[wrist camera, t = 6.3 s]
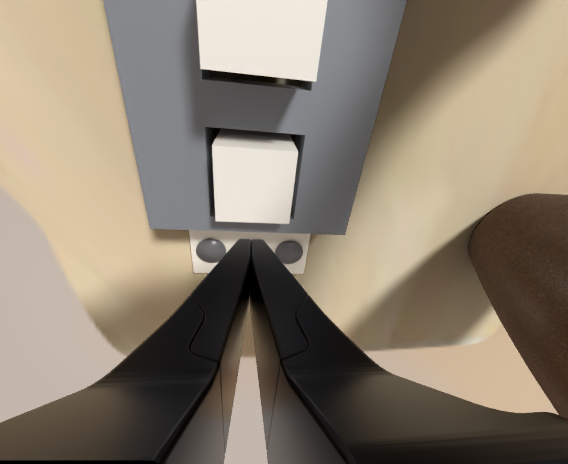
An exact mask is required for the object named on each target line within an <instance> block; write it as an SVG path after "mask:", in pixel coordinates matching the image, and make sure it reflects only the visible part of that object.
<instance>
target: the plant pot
mask: <svg viewBox="0 0 568 464" xmlns="http://www.w3.org/2000/svg"><path fill="white" fill-rule="evenodd" d="M468 251H469V255H470V258H471V260H472V263H473V266H474V268H475V270H476V272H477V275H478V277H479V279H480V281H481V284H482V286H483V288H484V290H485V292H486V294H487V296H488V298H489V300H490V302H491V304H492V306H493V308H494V310H495V311H496V313H497V315H498V317H499V319H500V321H501V323H502V324H503V326H504V328H505V329H506V331H507V333H508V335H509V336H510V338H511V340H512V341H513V343H514V345H515V347H516V348H517V350H518V352H519V353H520V355H521V357H522V358H523V360H524V361H525V363H526V365H527V366H528V368H529V370H530V371H531V373H532V374H533V376H534V377H535V379H536V381H537V382H538V383H539V385H540V386H541V388H542V390H543V391H544V393H545V394H546V396H547V397H548V399H549V400H550V402H551V403H552V405H553V406H554V408H555V409H556V411H557V412H558V414H559V416H562V417H565V418H567V419H568V195H558V194H527V195H523V196H519V197H516V198H514V199H511V200H509V201H507V202H505V203H503V204H502V205H500V206H499V207H497V208H496V209H494V210H493V211H492V212H490V213H489V214H488V215H487V216H486V217H485V218H484V219H483V220H482V221H481V222H480V223H479V225H478V226H477V227H476V229H475V230H474V232H473V234H472V236H471V239H470V242H469V249H468Z"/></svg>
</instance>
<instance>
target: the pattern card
mask: <svg viewBox="0 0 568 464" xmlns="http://www.w3.org/2000/svg"><path fill="white" fill-rule="evenodd" d="M189 236H190V245H191V254H192V263H193V272H194V273H210V271H211V270H212V269H213V268H214V267H215V266H216V265H217V263H218V262H219V261H220V260H221V259H222V258H223V257H224V255H225V254H226V253H227V252H228V251H229V250H230V248H231V247H232V246H233V245H234V244H235V243H236V242H237V240H238V239H250V240H252V239H263V240H264V241H265V242H266V243H267V245H268V246H269V247H270V248H271V249H272V251H273V252H274V253H275V254H276V256H277V257H278V258H279V259H280V260H281V262H282V263H283V264H284V265H285V267H286V268H287V269H288V270H289V272H290V273H291V274H304V269H305V263H306V258H307V252H308V247H309V241H310V236H311V234H300V233H268V232H236V231H204V230H189Z"/></svg>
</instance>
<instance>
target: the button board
mask: <svg viewBox="0 0 568 464" xmlns="http://www.w3.org/2000/svg"><path fill="white" fill-rule="evenodd" d="M103 1H104V6H105V11H106V16H107V21H108V26H109V31H110V35H111V40H112V45H113V50H114V55H115V60H116V65H117V70H118V74H119V79H120V84H121V89H122V94H123V99H124V104H125V109H126V114H127V118H128V123H129V128H130V133H131V138H132V143H133V148H134V153H135V157H136V162H137V167H138V172H139V177H140V182H141V187H142V192H143V197H144V201H145V206H146V211H147V216H148V221H149V226H150V229H172V230H204V231H236V232H268V233H300V234H332V235H345V232H346V229H347V225H348V221H349V217H350V214H351V210H352V206H353V202H354V198H355V195H356V191H357V187H358V183H359V180H360V176H361V172H362V168H363V165H364V161H365V157H366V153H367V150H368V146H369V142H370V138H371V134H372V131H373V127H374V123H375V119H376V116H377V112H378V108H379V104H380V101H381V97H382V93H383V89H384V85H385V82H386V78H387V74H388V70H389V67H390V63H391V59H392V55H393V52H394V48H395V44H396V40H397V37H398V33H399V29H400V25H401V21H402V18H403V14H404V10H405V6H406V3H407V0H328V2H327V9H326V16H325V23H324V30H323V37H322V44H321V51H320V58H319V65H318V72H317V79H316V82H314V81H305V80H302V86H293V85H284V84H275V83H265V82H256V81H247V80H238V79H228V78H219V77H211V70H206V69H200V54H199V38H198V21H197V5H196V0H103ZM213 127H214V128H226V129H238V130H250V131H262V132H274V133H286V134H296V139H295V146H296V148H297V150H298V158H297V166H296V174H295V182H294V190H293V198H292V206H291V214H290V221H289V224H276V223H248V222H220V221H215V200H214V179H213V157H212V144H213V142H214V130H213Z"/></svg>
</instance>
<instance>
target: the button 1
mask: <svg viewBox="0 0 568 464" xmlns="http://www.w3.org/2000/svg"><path fill="white" fill-rule="evenodd" d="M212 157H213V179H214V200H215V221H220V222H248V223H276V224H289V221H290V214H291V206H292V198H293V190H294V182H295V174H296V166H297V158H298V150H297V148H296V146H295V144H294V142H293V140H292V138H291V136H290V134H286V133H274V132H262V131H250V130H238V129H226V128H221V129H220V131H219V133H218V135H217V137H216V139H215V141H214V142H213V144H212Z"/></svg>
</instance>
